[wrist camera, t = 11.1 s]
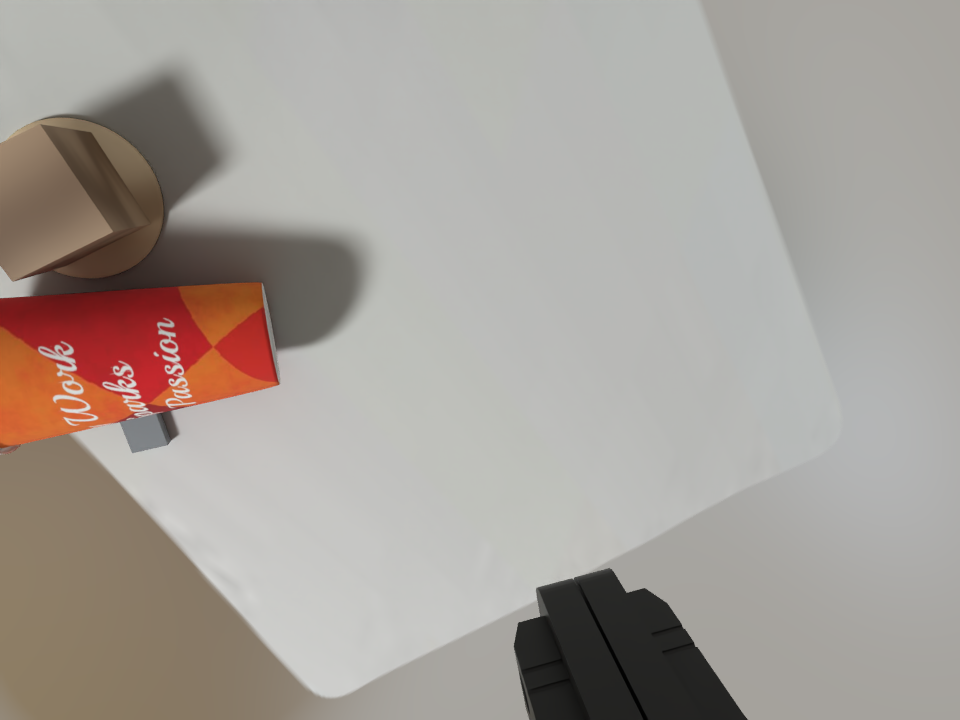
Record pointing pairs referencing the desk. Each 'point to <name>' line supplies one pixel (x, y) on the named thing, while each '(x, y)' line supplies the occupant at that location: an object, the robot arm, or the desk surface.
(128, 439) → the slate strip
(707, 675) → the robot arm
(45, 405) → the paper cup
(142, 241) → the cork coaster
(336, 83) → the desk surface
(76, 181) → the walnut block
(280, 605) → the desk surface
